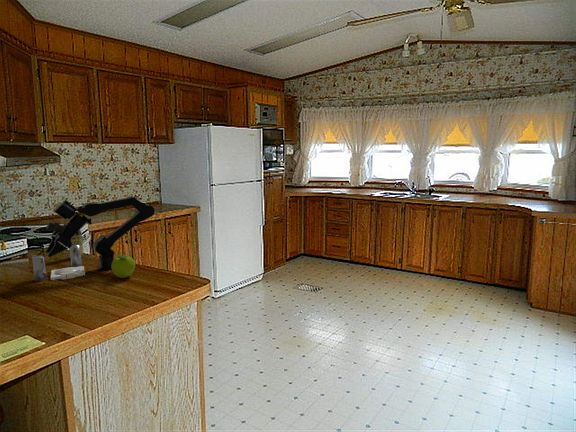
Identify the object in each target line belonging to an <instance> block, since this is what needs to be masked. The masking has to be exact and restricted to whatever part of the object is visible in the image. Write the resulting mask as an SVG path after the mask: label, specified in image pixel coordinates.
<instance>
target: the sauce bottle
mask: <svg viewBox="0 0 576 432" xmlns="http://www.w3.org/2000/svg"><path fill="white" fill-rule="evenodd" d="M71 242H72V245H80V252H81V258H83V257H84V245H83V234H82V231H81V229H80V230H79V231H78V234H76V235H75V236H74V237H73V238H72V239H71ZM68 249H69V251H70V248H68ZM69 257H70V256H69ZM70 259H71V257H70Z"/></svg>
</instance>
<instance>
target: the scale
mask: <svg viewBox="0 0 576 432" xmlns="http://www.w3.org/2000/svg"><path fill="white" fill-rule="evenodd" d="M83 275H84V276H86V272H85V267H84V265H82V266H79V267H72V266H71V267H63V268H57V269H51V271H50V281H56V280H61V281H62V280H69V279H70V280H71V279H75V278H76V277H82V276H83Z"/></svg>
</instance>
